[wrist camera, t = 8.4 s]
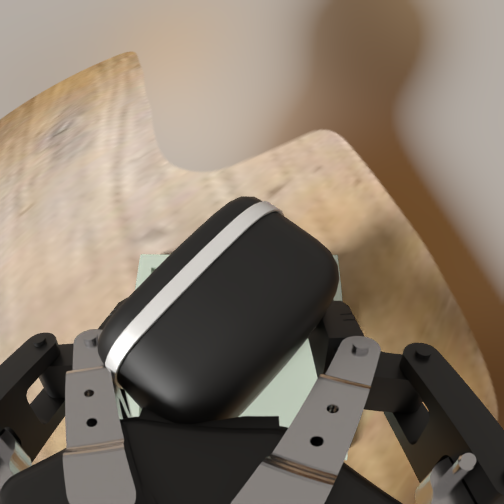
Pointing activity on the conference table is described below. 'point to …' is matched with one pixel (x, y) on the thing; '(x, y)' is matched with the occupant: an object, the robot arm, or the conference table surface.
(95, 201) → the conference table surface
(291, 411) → the tray
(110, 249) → the conference table surface
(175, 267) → the battery charger
